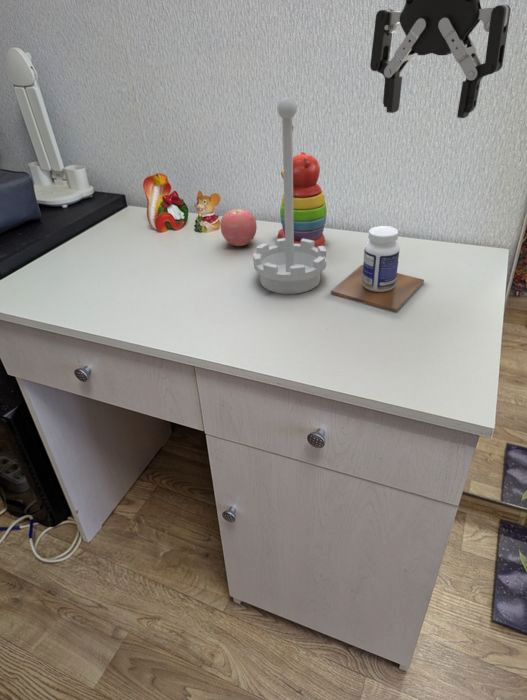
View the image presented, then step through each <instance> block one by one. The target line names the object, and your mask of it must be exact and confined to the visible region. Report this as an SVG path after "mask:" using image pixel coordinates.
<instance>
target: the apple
mask: <svg viewBox="0 0 527 700" xmlns="http://www.w3.org/2000/svg"><path fill="white" fill-rule="evenodd" d="M219 225H220V232H221V235H222V237H223V238H224V240H225V241H226V242H227V243H228V244H229V245H231V246H235V247H243V246H246V245H249V243H250V242H251V241H253V239H254V238H255V236H256V234H257V228H258V227H257V220H256V218H255V216H254V215H253V213H252V212H250V211H249V210H246V209H242V208H235V209H230V210H228V211H227V212H225V213H224V214H223V215H222V217H221V219H220V224H219Z"/></svg>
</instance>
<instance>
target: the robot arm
mask: <svg viewBox="0 0 527 700" xmlns="http://www.w3.org/2000/svg"><path fill="white" fill-rule="evenodd" d="M401 10H402V11H398V10H395V11H394V9H393V8H390V9H389V8H388V9H380V10H378V11H377V13H376V14H375V21H374V29H373V37H372V47H371V56H370V63H369V64H370V65H369V66H370V70H371V71H372V72H378V73H379V74H381V75H382V76H383V77H384V87H383V98H382V99H383V100H382V103H383V107H384V108H386V113H388V114H389V113H390V114H394V113H396V112H398V111H399V109H400V104H401V103H400V102H401V93H402V84H403V76H401V73H403V71H404V69H405V68H406V67H407V65H408V64H409V62H410V61H412V59H414V58H415V56H416V55H417V56H426V55H427V56H428V55H430V54H431V55H432V54H433V55H436V56H449V55H452V56H453V58H454V59H455V61H456V63H457V64H459V66H460V69H461V70H462V72H463V75H464V76H465V80H463V81H462V84H461V90H460V94H459V95H460V96H459V102H458V108H457V114H456V117H457V119H465V118H467V117H468V116H469V115H470V113H472V112H473V111H474V110H475V109H476V107H477V103H478V96H479V91H480V85H481V81H482V79H483V78H484V77H486V76H489V75H493V74H494V73H497V72H499V71H500V70H501V69H502V68H503V65H504V58H505V52H506V45H507V38H508V31H509V24H510V17H511V7H510V5H508V4H499V5H496V6H494V7H493V6H492V7H484V8H483V7H482V6H481V0H405V3H404V6H403V8H402V9H401ZM480 21H481V22H482V23H483V29H484V31H485V32H487V33H488V37H487V45H486V50H485V51H486V52H485V58H484V59H485V60H484V63H482V62H481V60H480V57H479V56H478V52H477V48H476V46H475V44H474V42H473V40H472V38H471V36H470V34H472V32H473V30H475V28H476V26H477V25H478V24H479V23H480ZM399 25H400V27H401V29H402V31H403V33H404V35H405V38H404V39H403V40H402V42H401V43H400V44H399V46H398V47H397V49H396V50H395V52H394V53H393V57H392V58H391V59H390V53H391V46H392V40H393V33H395V32H396V31H397V29H398V26H399Z"/></svg>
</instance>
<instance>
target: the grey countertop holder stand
mask: <svg viewBox="0 0 527 700" xmlns="http://www.w3.org/2000/svg"><path fill="white" fill-rule="evenodd" d="M297 109H298V106H297V103H296V101H295V100H294V99H293V98H291V97H283V98H282V99H280V100H279V102H278V104H277V107H276V110H277V114H278V116H279V117H280V118H281V123H282V124H281V126H282V129H281V130H282V163H283V165H282V166H283V169H282V170H283V172H284V180H283V193H284V215H285V238H282V239H278V238H275V244H274V245H271V246H269V243H266V242H263V243H261V244H259V245H258V246H257V247H256V249H255V250H256V253H252V257H253V269H254V271H255V272H256V273H257V274H258V275H259V278H260V279H259V280H260V285H261V286H262V287H263V288H264V289H266V290H268V291H270V292H273V293H277V294H284V295H294V294H302V293H306V292H309V291H311V290H314V289H315V288H316V287H318V285H320V283H321V274H322V273H323V272H324V271H325V269H326V268H327V258H328V257H327V256H328V255H327V254H328V250H327V248H326V247H325V246H324V245H323V246H318V248H316V247H314V241H312V240H309V239H302V240H301V244H294V220H293V157H294V153H293V152H294V151H293V150H294V149H293V146H294V145H293V141H294V139H293V133H294V125H293V117H295V115H296V113H297Z"/></svg>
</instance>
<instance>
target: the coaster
mask: <svg viewBox="0 0 527 700" xmlns="http://www.w3.org/2000/svg"><path fill="white" fill-rule="evenodd" d="M362 277H363V264H361V265H360V266H359V267H358V268H357V269H355V270H354V271H353V272H351V274H349V275H348V276H347V277H345V278H344V280H342V281H341V282H340V283H339V284H337V285H336V286H335V287H334V288H333V289H331V290H330V294H331V295H333V296H337V297H341V298H344V299H348V300H350V301H351V300H352V301H355V302H358V303H362V304H365V305H369V306H373V307H376V308H379V309H382V310H386V311H389V312H394V313H398V311H399V310H400V309H401V308H402V307H403V306H404V305H405V304H406V302H407V301H408V300H409V299H410V298H411V297H412V296H413V295H414V294H415V293H416V292H417V291H418V289H420V287H421V286H422V285H424V283H425V279H424V278H420V277H416V276H411V275H407V274H403V273H399V272H397V277H396V285H395V287H394V288H393V289H391V290H389V291H386V292H374V291H370V290H368V289H366V288H365V287H364V286H363V284H362Z"/></svg>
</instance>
